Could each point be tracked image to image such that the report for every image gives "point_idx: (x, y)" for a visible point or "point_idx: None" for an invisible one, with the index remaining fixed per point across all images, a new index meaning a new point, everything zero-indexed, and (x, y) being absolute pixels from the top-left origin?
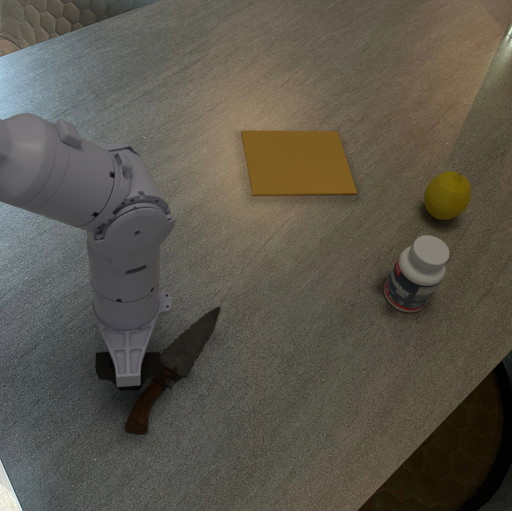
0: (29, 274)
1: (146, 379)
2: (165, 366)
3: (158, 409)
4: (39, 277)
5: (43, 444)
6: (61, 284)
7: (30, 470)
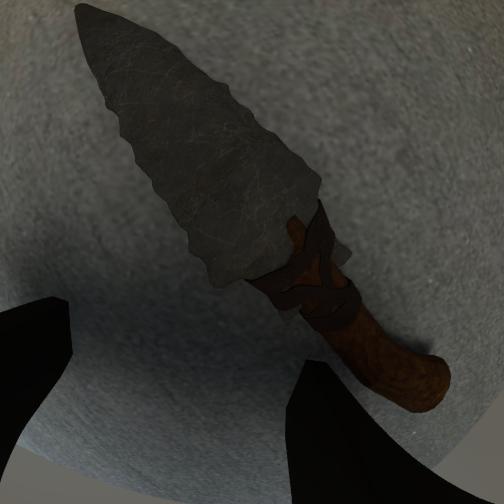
0: None
1: (399, 447)
2: (280, 272)
3: (391, 305)
4: None
5: None
6: None
7: None
